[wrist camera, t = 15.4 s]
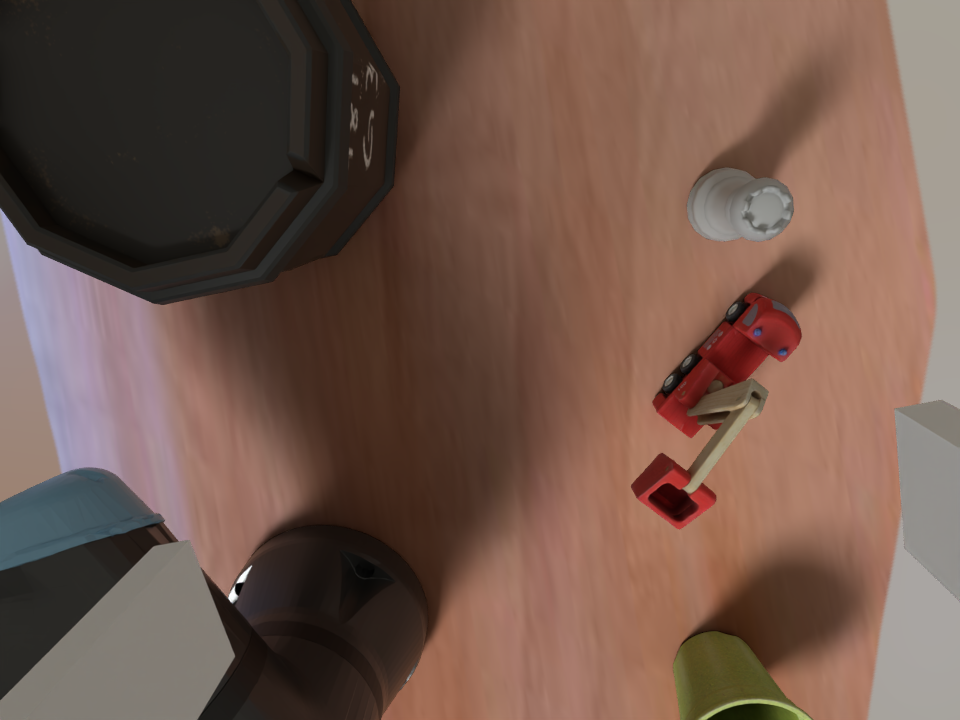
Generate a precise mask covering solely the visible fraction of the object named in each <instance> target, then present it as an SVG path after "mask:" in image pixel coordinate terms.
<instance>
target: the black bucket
mask: <svg viewBox="0 0 960 720" xmlns="http://www.w3.org/2000/svg"><path fill="white" fill-rule="evenodd" d="M399 96H400V86H399V85H398V83H397V81H396V79H395V78H394V76H393V74H392V72H391V71H390V69H389V67H388V65H387V63H386V62H385V60H384V58H383V56H382V55H381V53H380V51H379V49H378V48H377V46H376V44H375V42H374V40H373V39H372V37H371V35H370V33H369V32H368V30H367V28H366V26H365V25H364V23H363V21H362V19H361V18H360V16H359V14H358V12H357V10H356V9H355V7H354V5H353V3H352V2H351V0H0V208H1V209H2V211H3V212H4V213H5V215H6V216H7V218H8V219H9V220H10V222H11V223H12V224H13V226H14V227H15V228H16V230H17V231H18V233H19V234H20V235H21V237H22V238H23V239H24V241H25V242H26V243H27V245H30V246H32V247H34V248H37V249H38V250H39V252H40V253H41V255H44V256H46V257H48V258H51V259H53V260H55V261H57V262H60V263H62V264H64V265H67V266H69V267H71V268H73V269H76V270H78V271H80V272H83V273H85V274H87V275H90V276H92V277H94V278H96V279H99V280H101V281H103V282H106V283H108V284H110V285H112V286H115V287H117V288H119V289H122V290H124V291H126V292H129V293H131V294H133V295H135V296H138V297H140V298H142V299H145V300H147V301H149V302H151V303H154V304H160V305H165V304H169V303H174V302H179V301H184V300H188V299H193V298H198V297H202V296H207V295H212V294H217V293H221V292H226V291H231V290H235V289H240V288H245V287H250V286H254V285H259V284H264V283H269V282H273V281H274V280H275V279H276V277H277V276H278V275H279V274H280V273H281V272H283V271H289V270H292V269H293V268H296V267H298V266H301V265H303V264H306V263H309V262H311V261H314V260H317V259H320V258H324V257H329V256H334V255H337V254H338V253H339V252H340V251H341V250H342V248H343V247H344V246H345V245H346V243H347V242H348V241H349V240H350V239H351V237H352V236H353V235H354V234H355V233H356V231H357V230H358V229H359V228H360V226H361V225H362V224H363V223H364V222H365V220H366V219H367V218H368V217H369V216H370V214H371V213H372V212H373V211H374V209H375V208H376V207H377V206H378V205H379V203H380V202H381V201H382V200H383V199H384V197H385V196H386V195H387V194H388V192H389V191H390V190H391V189H392V188H393V186H394V174H395V158H396V142H397V127H398V111H399Z"/></svg>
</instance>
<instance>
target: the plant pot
mask: <svg viewBox="0 0 960 720" xmlns="http://www.w3.org/2000/svg"><path fill="white" fill-rule="evenodd" d="M673 671H674V677H675V685H676V691H677V698H678V705H679V712H680V720H813V719H812V718H811V717H810V716H809V715H808V714H807V713H806V712H804V711H803V710H802V709H800V708H798V707H797V706H796V705H795V704H794V703H793V702H792V701H790V700H789V699H788V698H786V696H785V695H784V694H783V692H782V691H781V690H780V688H779V687H778V686H777V684H776V683H775V682H774V680H773V679H772V678H771V676H770V675H769V673H768V672H767V671H766V669H765V668H764V667H763V665H762V664H761V662H760V661H759V660H758V658H757V657H756V655H755V654H754V653H753V651H752V650H751V649H750V647H749V646H748V645H747V644H746V643H745V642H744V641H743V640H742V639H740V638H739V637H737V636H731V635H727V634H724V633H721V632H718V631H710V632H704V633H701V634H698V635H696V636H694V637H692V638H690V639H689V640H687V641H686V642H685V643H684V644H683V645H682V646H681V647H680V649H679V651H678V654H677V656H676V659H675V661H674V663H673Z"/></svg>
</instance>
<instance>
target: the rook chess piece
mask: <svg viewBox="0 0 960 720" xmlns="http://www.w3.org/2000/svg"><path fill="white" fill-rule="evenodd" d="M687 211H688V219H689V221H690V223H691V224H692V226H693V228H694V230H695V231H696V232H698V233H699V234H700V235H702V236H703V237H705V238H706V239H710V240H715V241H724V242H725V241H730V240H735V239H739V238H741V237H743V238H745V239H747V240H752V241H756V242H759V241H765V240H770V239H772V238H773V237H775V236H777V235H778V234H780V233H782V231H783V230H784V229H785V228H786V226H787V225H788V224H789V223H790V221H791V218H792V215H793V212H794V207H793V197H792V195H791V193H790V191H789V189H788V188H787V186H785V185H784V184H783V183H781V182H780V181H778V180H776V179H771V178H766V177H764V178H759V179H756V178H754V177H753V176H751V175H750V174H749V173H747V172H746V171H742V170H738V169H733V168H728V167H726V168H721V169H716V170H712V171H711V172H709V173H708V174H706V175H704V176H703V177H701V178H700V179H699V180H698V182H697V183H696V184H695V186H694V187H693V188H692V190H691V192H690V195H689V199H688V202H687Z"/></svg>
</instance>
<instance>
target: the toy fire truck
mask: <svg viewBox="0 0 960 720" xmlns="http://www.w3.org/2000/svg"><path fill="white" fill-rule="evenodd" d="M726 318H727V321H725V322H723V323H722V324H721V325H720V326H719V327H718V329H716V331H715V332H714V333H713V334H712V335H711V337H710V338H709V339H708V340H707V341H706V342H705V343H704V344H703V345H702V346H701V348H700V349H699V350H698V353H697V355H694V354H691V355H689V356H688V357H686V358H685V359H684V360H683V362H682V364H681V366H680V370H681V372H682V373H685V374H686V375H685V376H684V377H683V378H681V377H680V376H679V375H678V374H676V373H674V374H671V375H670V376H669V377H668V378H667V379H666V380H665V382H664V384H663V387H662V388H663V390H664V391H665V392H666V393H667V394H668V395H665V394H663V393H660V394H658V395H657V396H656V397H655V399H654V400H653V402H652V403H653V405H654V407H655V409H656V411H657V413H658V414H659V415H661V416H662V417H663V418H665V419H666V420H667V421H669V422H670V423H671V424H672V425H674V426H675V427H676V428H677V429H679V430H680V431H682V432H683V433H684V434H686V435H687V436H688V437H690V438H692V437H693V436H694V435H695V434H696V433H697V432H698V431H699V430H700V429H701V428H702V427H703V426H704V425H709V426H711V427H712V428H713V429H715V430H717V429H718V430H717V431H716V433H715V434H714V435H713V437H712V438H711V439H710V441H709V442H708V443H707V445H706V446H705V447H704V449H703V450H702V451H701V453H700V454H699V456H698V457H697V458H696V460H695V461H694V462H693V464H692V465H691V467H690V468H689V469H688V470H687V471H686V470H685V469H683V468H682V467H681V466H680V465H678V464H677V463H676V462H675V461H674V460H672V459H671V458H669V457H668V456H666V455H665V454H663V453H660V454H659V455H658V456H657V457H656V458H655V459H654V461H653V462H652V463H651V464H650V465H649V466H648V467H647V468H646V469H645V471H644V472H643V473H642V474H641V475H640V476H639V477H638V478H637V479H636V480H635V481H634V483H633V484H632V485H631V488H632V490H633V492H634V494H635V495H636V498H637V499H638V500H640V501H641V502H642V503H643V504H645V505H646V506H648V507H649V508H650V509H652V510H653V511H654V512H656V513H657V514H658V515H660V516H661V517H662V518H664V519H665V520H666V521H668V522H669V523H670V524H672V525H673V526H674V527H675V528H677V529H681V528H683V527H684V526H686V525H687V524H689V523H690V522H691V521H692V520H694V519H695V518H696V517H698V516H699V515H701V514H702V513H703V512H704V511H706V510H707V509H709V508H710V507H711V506H712V505H713V504H714V503H715V502H716V495H715V493H714V492H713V491H711V490H710V489H709V488H708V487H706V486H705V485H704V484H703V483H702V481H703V480H704V479H705V477H706V476H707V475H708V473H709V472H710V470H711V469H712V468H713V467H714V465H715V464H716V463H717V461H718V460H719V458H720V457H721V456H722V454H723V453H724V452H725V451H726V449H727V448H728V446H729V445H730V444H731V442H732V441H733V440H734V439H735V437H736V436H737V434H738V433H739V432H740V430H741V429H742V428H743V426H744V425H745V424H746V422H747V421H748V420H750V419H753V418H756V417H757V416H759V415H760V413H761V411H762V409H763V406H764V404H765V401H766V398H767V396H768V391H767V390H766V389H765V388H764V387H763V386H761V385H760V384H759V383H758V382H757V381H755V380H754V379H749V380H746V379H747V378H748V377H749V376H750V375H751V374H752V373H753V372H754V371H755V370H756V368H757V367H759V365H760V364H761V363H762V362H763V361H764V360H765V359H766V357H767V356H768V355H771V356H772V357H774V358H776V359H777V360H779V361H780V362H783V361H785V360H786V359H787V358H788V357H789V355H790V354H791V353H792V352H793V351H794V350H795V349H796V348H797V346H798V345H799V343H800V340H801V338H802V335H801V329H800V326H799V324H798V322H797V320H796V318H795V316H794V315H793V314H792V312H791V311H790V310H789V309H788V308H787V307H786V306H784V305H783V304H781V303H779V302H777V301H775V300H772V299H769V298H767V297H765V296H763V295H760V294H757V293H749V294H748V295H747V296H746V297H745V298H744V303H742V302H736V303H734V304H733V305H732V306H731V307H730V308H729V309H728V311H727V313H726ZM745 380H746V381H745Z"/></svg>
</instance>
